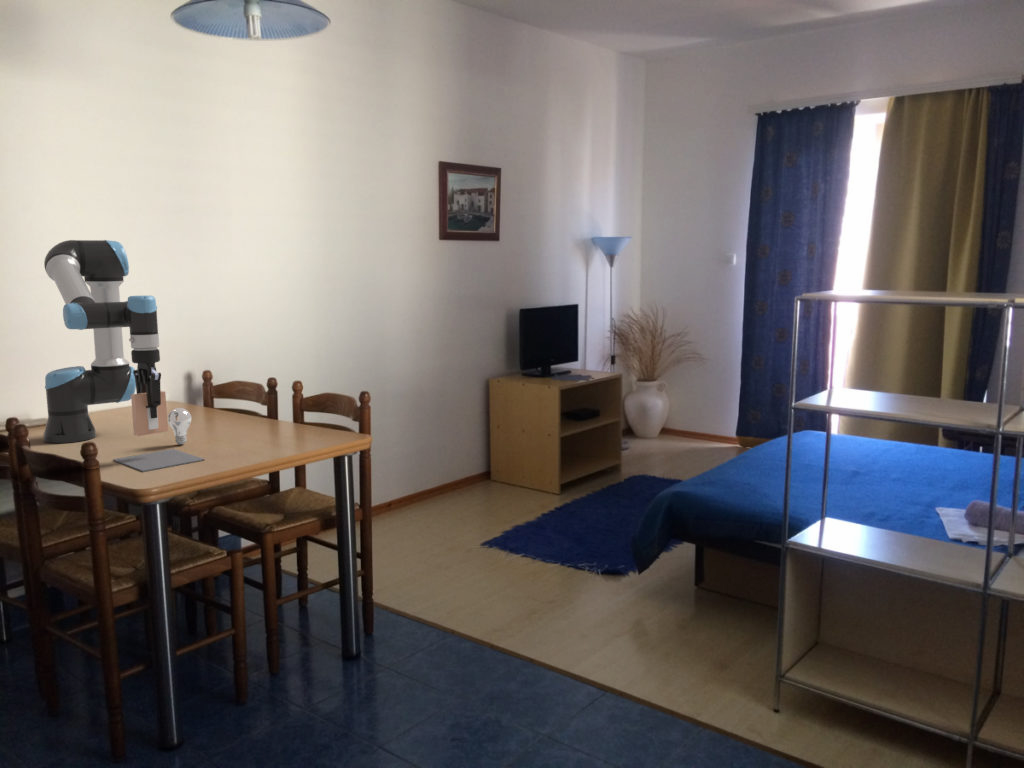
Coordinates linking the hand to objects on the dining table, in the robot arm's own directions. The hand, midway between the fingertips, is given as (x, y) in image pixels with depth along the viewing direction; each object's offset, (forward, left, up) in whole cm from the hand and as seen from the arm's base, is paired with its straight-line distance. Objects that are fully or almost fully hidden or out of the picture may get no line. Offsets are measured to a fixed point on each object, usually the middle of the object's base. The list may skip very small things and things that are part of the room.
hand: (150, 428), depth 242 cm
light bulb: (-11, +14, -9) cm, 20 cm away
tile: (0, 0, -2) cm, 2 cm away
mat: (+4, 0, -9) cm, 10 cm away
